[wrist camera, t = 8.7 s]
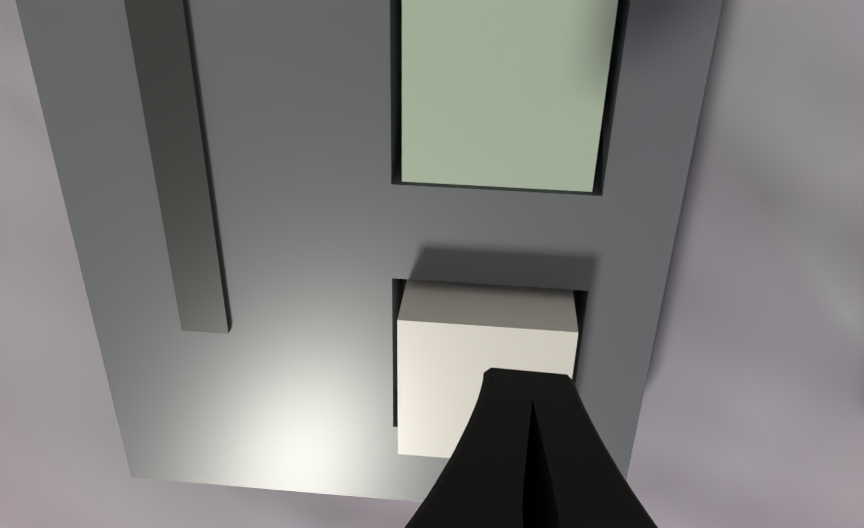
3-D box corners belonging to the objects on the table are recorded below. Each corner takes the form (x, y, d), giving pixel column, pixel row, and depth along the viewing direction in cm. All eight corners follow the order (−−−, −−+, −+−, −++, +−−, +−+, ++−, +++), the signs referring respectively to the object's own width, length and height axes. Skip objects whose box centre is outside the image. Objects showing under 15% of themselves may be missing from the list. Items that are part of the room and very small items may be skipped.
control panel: (813, -719, 12) (908, -896, 9) (606, 443, 23) (618, 524, 21) (-43, -694, 13) (-200, -845, 10) (172, 409, 24) (128, 482, 22)
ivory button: (571, 279, 18) (578, 332, 16) (554, 405, 20) (559, 467, 18) (409, 269, 19) (397, 320, 17) (408, 394, 21) (397, 454, 19)
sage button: (605, -29, 16) (619, -10, 14) (582, 152, 18) (592, 192, 16) (415, -35, 16) (401, -18, 14) (414, 143, 18) (401, 181, 16)
